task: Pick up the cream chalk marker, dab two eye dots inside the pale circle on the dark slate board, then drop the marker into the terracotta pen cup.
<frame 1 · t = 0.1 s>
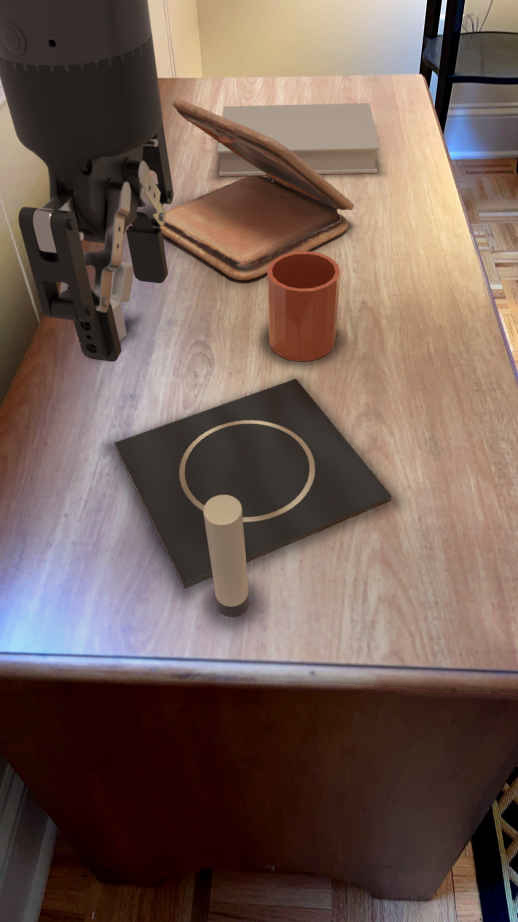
hand: (129, 315, 44), 22 cm above the table, tool pointing down, fingers open, 8 cm apart
chalkboard: (247, 472, 64), on the table
case: (252, 229, 95), on the table
lighter: (119, 335, 79), on the table
pen cup: (302, 340, 78), on the table
book: (296, 150, 111), on the table
marker: (233, 602, 55), on the table
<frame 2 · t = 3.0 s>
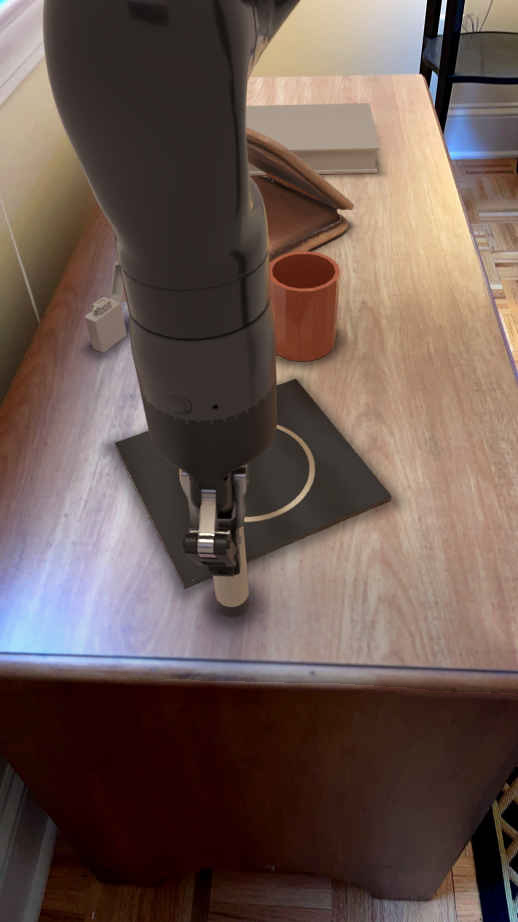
hand: (227, 551, 50), 7 cm above the table, tool pointing down, fingers closed on marker, 2 cm apart
marker: (233, 602, 55), on the table, touching gripper
everything else where it was.
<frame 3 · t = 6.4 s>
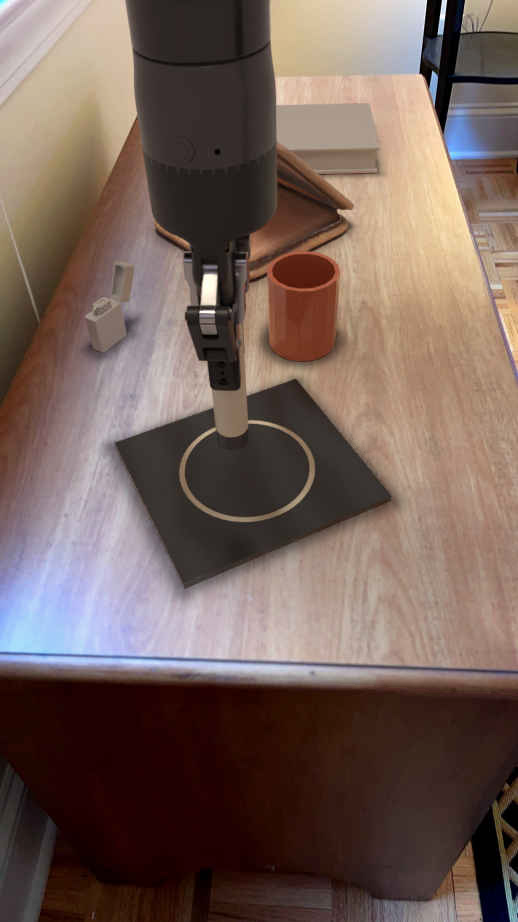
hand: (228, 372, 51), 15 cm above the table, tool pointing down, fingers closed on marker, 2 cm apart
marker: (233, 439, 56), point 8 cm above the table, touching gripper
everything else where it was.
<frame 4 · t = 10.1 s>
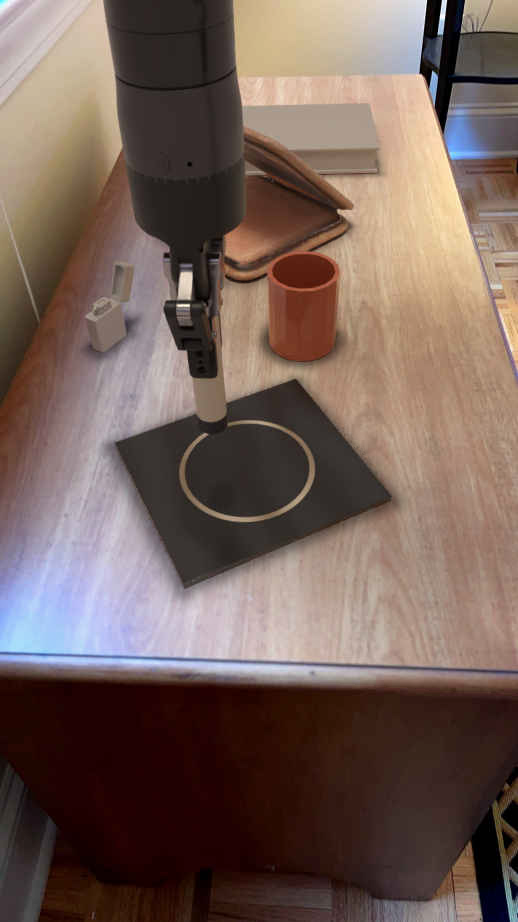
hand: (206, 361, 56), 13 cm above the table, tool pointing down, fingers closed on marker, 2 cm apart
marker: (213, 424, 61), point 6 cm above the table, touching gripper
everything else where it was.
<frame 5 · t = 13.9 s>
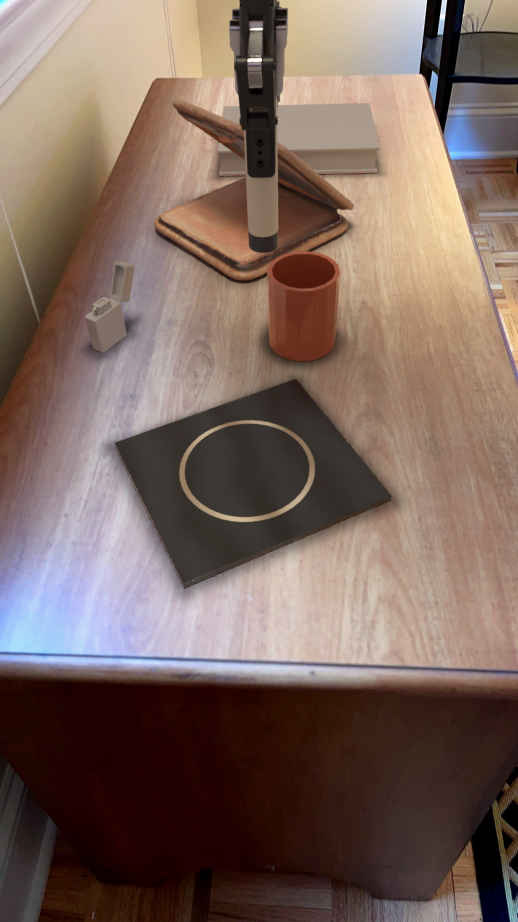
hand: (262, 165, 55), 23 cm above the table, tool pointing down, fingers closed on marker, 2 cm apart
marker: (263, 245, 61), point 16 cm above the table, touching gripper
everything else where it was.
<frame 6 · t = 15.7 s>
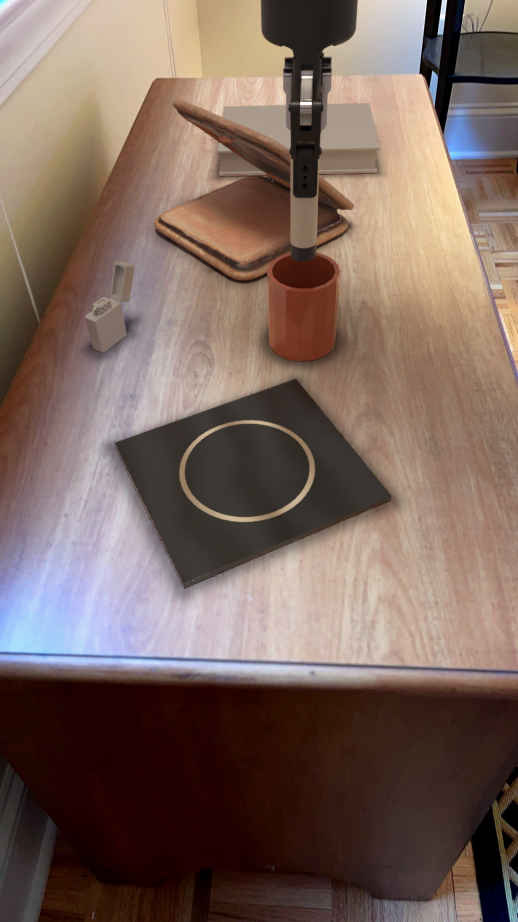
hand: (305, 187, 64), 18 cm above the table, tool pointing down, fingers closed on marker, 2 cm apart
marker: (303, 255, 70), point 11 cm above the table, touching gripper
everything else where it was.
when the fingers open (14 cm above the table, at t = 17.1 s): marker drops 6 cm, resting on pen cup.
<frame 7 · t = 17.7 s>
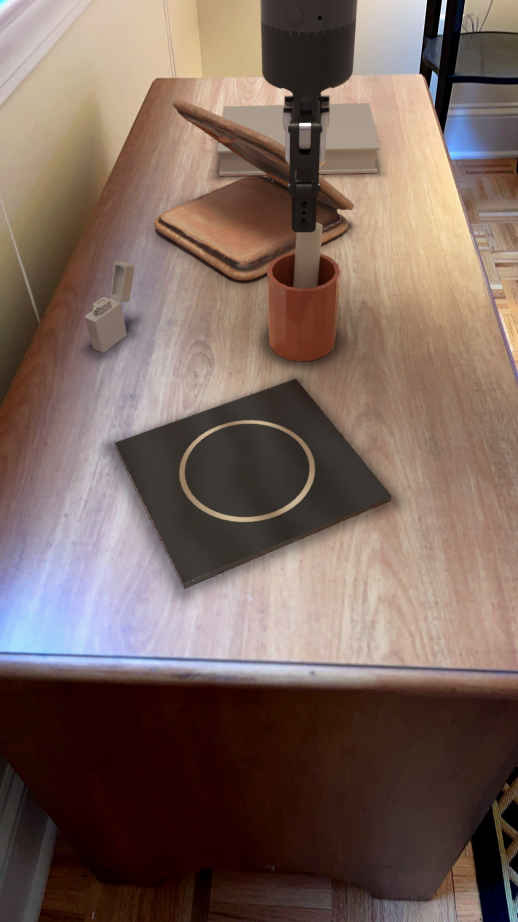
hand: (304, 207, 66), 16 cm above the table, tool pointing down, fingers open, 8 cm apart
marker: (301, 334, 77), point 1 cm above the table, tilted 13°, touching pen cup
everything else where it was.
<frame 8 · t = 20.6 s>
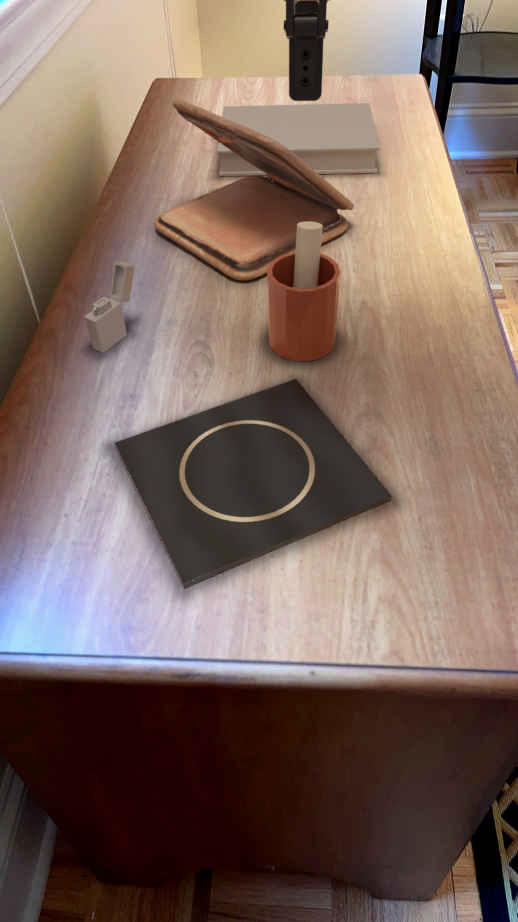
hand: (306, 76, 50), 30 cm above the table, tool pointing down, fingers open, 8 cm apart
nothing on the table moved.
at the end: marker 0.0 cm off-centre in the pen cup, point 0.9 cm above the pen cup's base; the gripper is holding nothing; chalkboard moved 0.0 cm from its start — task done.
